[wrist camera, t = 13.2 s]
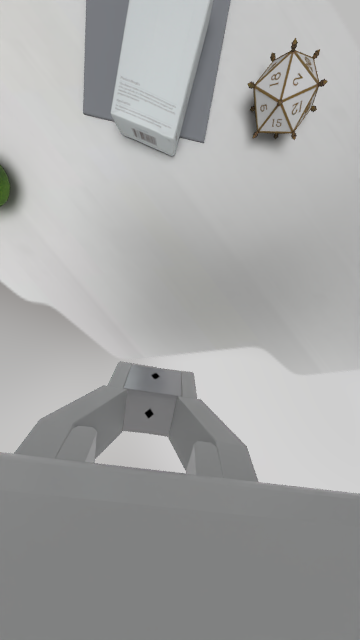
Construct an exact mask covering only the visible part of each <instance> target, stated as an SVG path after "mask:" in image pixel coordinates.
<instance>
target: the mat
mask: <svg viewBox="0 0 360 640" xmlns="http://www.w3.org/2000/svg"><path fill="white" fill-rule="evenodd" d="M128 5H129V0H86V30H85V66H84V101H83V113H84V114H85V115H89V116H93V117H97V118H101V119H106V120H110V121H114V119H113V117H112V115H111V107H112V101H113V95H114V89H115V83H116V77H117V71H118V65H119V59H120V53H121V47H122V41H123V35H124V29H125V23H126V17H127V11H128ZM229 5H230V0H213V4H212V9H211V14H210V19H209V24H208V28H207V32H206V36H205V40H204V44H203V48H202V52H201V56H200V59H199V63H198V67H197V71H196V74H195V78H194V82H193V86H192V90H191V94H190V97H189V101H188V105H187V109H186V113H185V117H184V121H183V125H182V128H181V132H180V136H179V137H181V138H185V139H189V140H193V141H198V142H202V143H204V140H205V134H206V129H207V123H208V118H209V113H210V107H211V102H212V97H213V91H214V86H215V81H216V75H217V70H218V64H219V59H220V54H221V48H222V43H223V38H224V32H225V27H226V21H227V16H228V11H229ZM114 122H115V121H114Z"/></svg>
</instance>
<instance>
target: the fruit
mask: <svg viewBox="0 0 360 640" xmlns="http://www.w3.org/2000/svg"><path fill="white" fill-rule="evenodd" d="M9 192H10V184H9V180H8V177H7V175H6V173H5V171H4V169H3V168H2V166H1V165H0V206H2V205H3V204H5V203H6V201H7V200H8V197H9Z"/></svg>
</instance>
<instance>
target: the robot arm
mask: <svg viewBox="0 0 360 640" xmlns="http://www.w3.org/2000/svg"><path fill="white" fill-rule="evenodd" d="M122 431H130V432H140V433H149V434H155V435H161V436H167V437H169V440H170V442H171V444H172V446H173V447H174V449H175V451H176V453H177V455H178V457H179V459H180V461H181V463H182V465H183V467H184V468H185V470H186V474H184V473H175V472H166V471H159V470H150V469H140V468H132V467H124V466H115V465H106V464H98V463H94V461H95V459H96V457H97V456H98V455H100V453H101V452H103V451H104V450H105V449H106V448H107V446H109V444H111V443H112V442H113V441H114V440H115V439H116V438H117V436H119V435H120V433H122ZM0 640H360V494H357V493H348V492H339V491H331V490H323V489H313V488H304V487H296V486H286V485H277V484H270V483H261V482H258V479H257V476H256V473H255V470H254V468H253V464H252V462H251V458H250V455H249V452H248V449H247V446H246V445H245V444H244V443H243V442H242V441H241V440H240V439H239V438H238V437H237V436H236V435H235V434H234V433H233V432H232V431H231V430H230V429H229V428H228V427H227V426H226V425H225V424H224V423H223V422H222V421H221V420H220V419H219V418H218V417H217V416H216V415H215V414H214V413H213V412H212V411H211V409H210V408H208V406H206V404H205V403H204V402H203V401H202V400H200V399H197V394H196V387H195V380H194V373H192V372H186V371H177V370H169V369H161V368H156V367H151V366H145V365H139V364H134V363H133V364H132V363H128V362H121V361H120V362H119V363H118V364H117V367H116V369H115V371H114V373H113V375H112V377H111V379H110V381H109V384H108V386H102V387H100V388H98V389H96V390H94V391H92V392H90V393H88V394H86V395H85V396H83V397H81V398H79V399H77V400H75V401H73V402H72V403H70V404H68V405H66V406H64V407H62V408H60V409H58V410H56V411H55V412H53V413H51V414H49V415H47V416H45V417H43V418H41V419H40V420H39V421H38V423H37V424H36V425H35V427H34V428H33V429H32V430H31V432H30V433H29V434H28V436H27V437H26V439H25V440H24V441H23V442H22V444H21V445H20V446H19V448H18V449H17V450H16V452H15V453H14V454H10V453H2V452H0Z"/></svg>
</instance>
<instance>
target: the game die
mask: <svg viewBox="0 0 360 640" xmlns="http://www.w3.org/2000/svg"><path fill="white" fill-rule="evenodd" d="M297 43H298V42H297V40H296V38H295V39H294V41H293V42H292V46H291V48H292V50H291V51H290V52H288V53H286V54H284V55H282V56H280V57H279V58H277V59H275V53H272V54H271V57H270V58H271V61H272V63H271V64H270V66H269V67H268V68H267V70H266V71H265V72H264V73H263V75H262V76H261V77H260V79H259V80H258V81H257V82H256V84H254V82H253V83H252V81H251V82H250V83H248V86H249V88H251V89H252V88H253V89H254V106H253V107H251V109H250V111H252V112H253V111H254V110H255V117H256V126H257V131H256V132H255V133H254V134H253V138H255V137H256V136H258V133H275V134H274V138H275V139H276V138H277V137H278V134H282V133H291V134H292V135H291V137H292V138H293V139H294V140H295V138H296V136H297V135H296V133H295V130H296V128H297V127H298V126H299V124H300V123H301V122H302V120H303V119H304V118H305V116H306V115H307V113H308V112H309V111H310V110H311V111H313V112H314V111H316V110H317V109H316V106H312V105H313V102H314V99H315V96H316V93H317V90H318V87H319V86H321V87H322V86H324V85H325V84H326V83H327V80H325V79H324V80H321V81H320V82H319V79H318V75H317V71H316V66H315V62H314V59H315V58H317V56H318V55H319V52H320V49H319V50H317V51H315V53H314V55H313V57H311V56H308V55H306V54H303V53H301V52H298V51H296V50H295V48H296V47H297Z"/></svg>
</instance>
